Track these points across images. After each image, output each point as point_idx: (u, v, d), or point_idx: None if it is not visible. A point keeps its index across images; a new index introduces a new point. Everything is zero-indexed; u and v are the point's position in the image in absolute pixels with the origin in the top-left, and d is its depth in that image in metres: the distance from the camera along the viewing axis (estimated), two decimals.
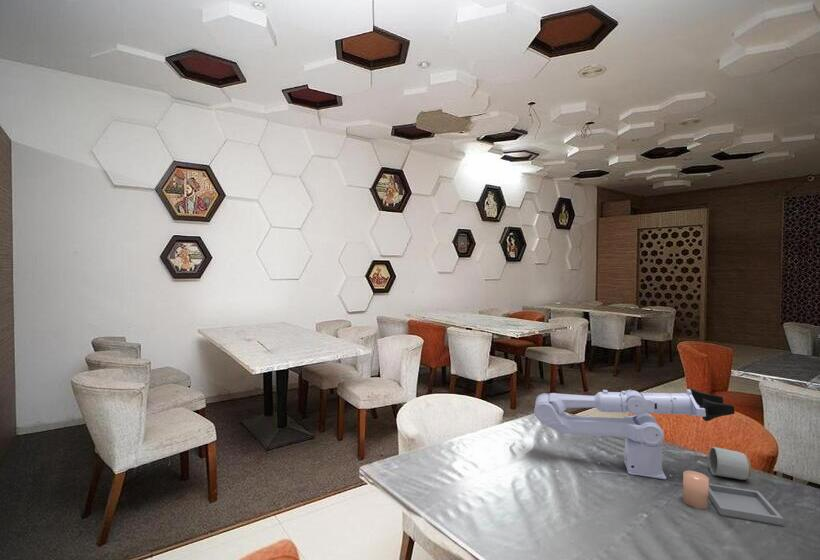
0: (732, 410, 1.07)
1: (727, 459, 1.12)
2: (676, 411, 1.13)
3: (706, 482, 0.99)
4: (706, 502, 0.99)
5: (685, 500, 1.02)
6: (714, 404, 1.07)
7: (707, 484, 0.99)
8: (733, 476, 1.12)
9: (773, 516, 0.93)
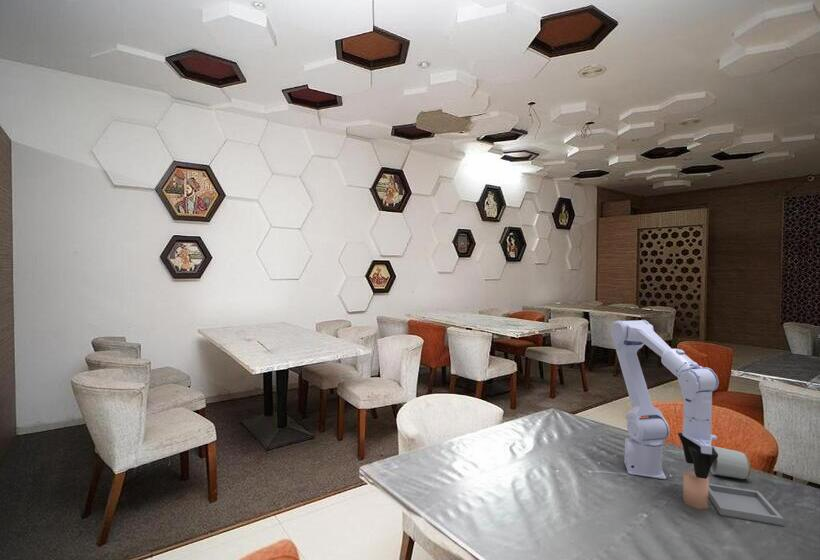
0: (701, 476, 0.98)
1: (727, 458, 1.13)
2: (693, 422, 0.99)
3: (706, 482, 0.99)
4: (706, 502, 0.99)
5: (685, 500, 1.02)
6: (711, 462, 0.96)
7: (707, 484, 0.99)
8: (733, 475, 1.12)
9: (773, 516, 0.93)
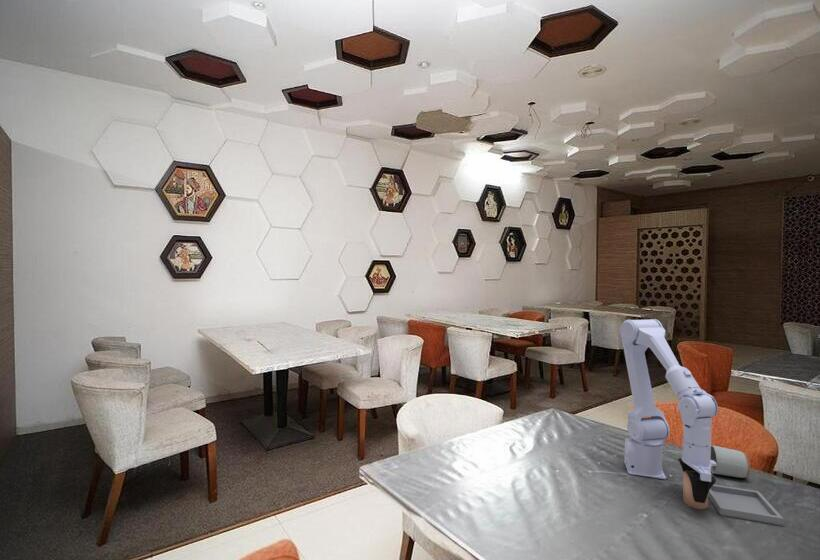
0: (699, 500, 0.99)
1: (726, 457, 1.13)
2: (693, 448, 0.99)
3: None
4: (706, 502, 0.99)
5: (685, 500, 1.02)
6: (709, 487, 0.97)
7: None
8: (732, 474, 1.13)
9: (773, 516, 0.93)
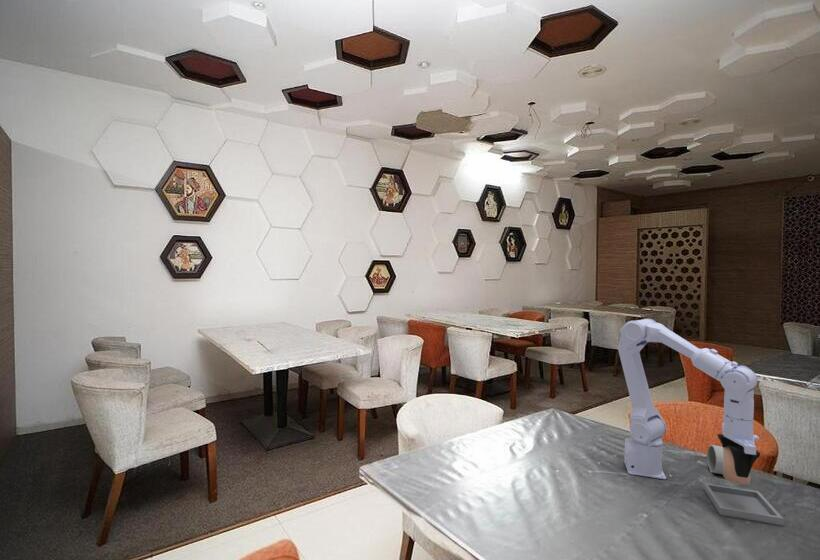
0: (742, 475, 0.97)
1: None
2: (735, 422, 0.98)
3: None
4: (748, 477, 0.98)
5: (726, 476, 1.00)
6: (753, 461, 0.95)
7: None
8: None
9: (773, 516, 0.93)
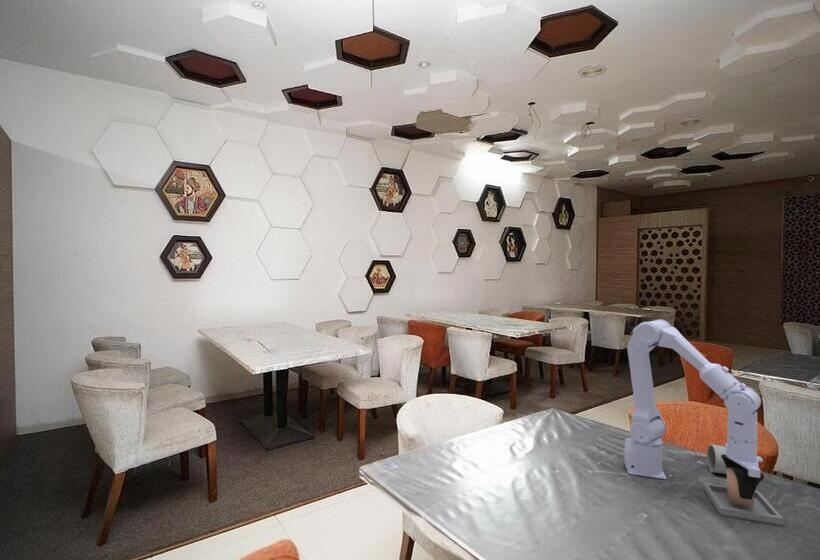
0: (745, 497, 0.97)
1: None
2: (739, 444, 0.98)
3: None
4: (752, 499, 0.98)
5: (730, 497, 1.00)
6: (757, 483, 0.95)
7: None
8: None
9: (773, 516, 0.93)
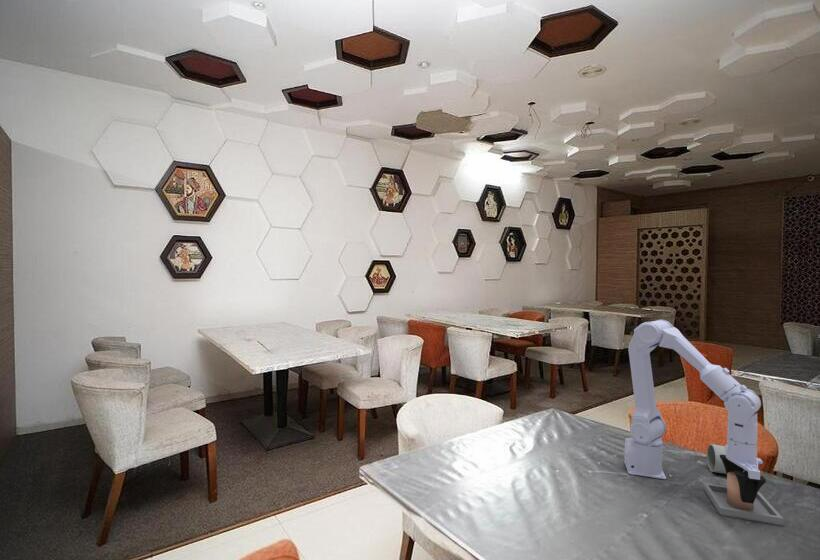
0: (747, 501, 0.96)
1: None
2: (739, 445, 0.98)
3: None
4: (752, 504, 0.98)
5: (730, 502, 1.00)
6: (759, 487, 0.95)
7: None
8: None
9: (773, 516, 0.93)
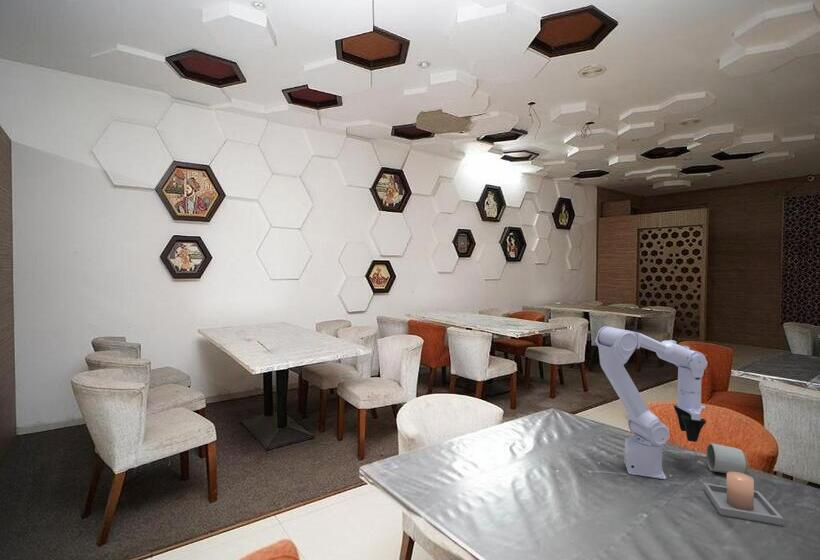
0: (692, 439, 1.16)
1: (724, 455, 1.15)
2: (685, 394, 1.18)
3: (751, 483, 0.98)
4: (752, 503, 0.98)
5: (730, 502, 1.00)
6: (700, 427, 1.14)
7: (752, 485, 0.98)
8: None
9: (773, 516, 0.93)
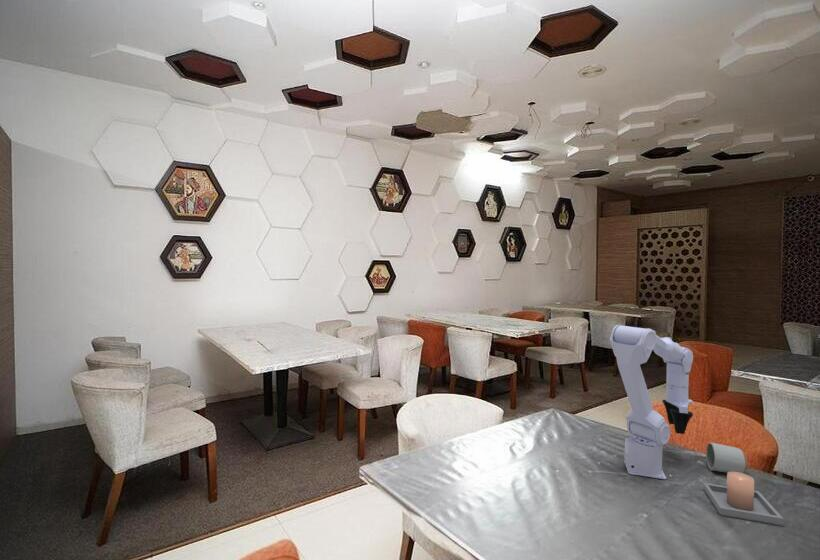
0: (679, 432, 1.21)
1: (724, 454, 1.15)
2: (674, 389, 1.23)
3: (752, 483, 0.98)
4: (752, 503, 0.98)
5: (729, 501, 1.00)
6: (688, 420, 1.20)
7: (753, 485, 0.98)
8: (730, 471, 1.15)
9: (773, 516, 0.93)
